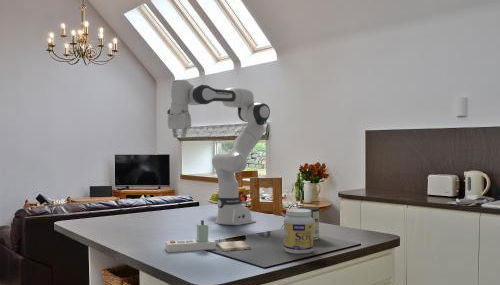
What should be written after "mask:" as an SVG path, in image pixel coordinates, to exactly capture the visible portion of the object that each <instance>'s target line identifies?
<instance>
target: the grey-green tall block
mask: <svg viewBox="0 0 500 285" xmlns="http://www.w3.org/2000/svg"><path fill="white" fill-rule="evenodd" d="M196 239H197V242H208V239H209V224H208V223H205V220H203V219H202V220H200V223H196Z"/></svg>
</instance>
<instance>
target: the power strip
mask: <svg viewBox="0 0 500 285" xmlns="http://www.w3.org/2000/svg"><path fill="white" fill-rule="evenodd" d="M216 243H217V241H215V240H214V239H213V238H208V242H197V238H196V239H195V238H194V239H179V240H165V245H164V246H165V247H164V248H165V250H166V252H167V253H176V252H192V251H203V250H204V251H207V250H216V249H217V245H216Z"/></svg>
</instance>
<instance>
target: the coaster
mask: <svg viewBox="0 0 500 285" xmlns="http://www.w3.org/2000/svg"><path fill="white" fill-rule="evenodd" d="M216 247H218V248H219V249H220V250H223V251H222V252H227V251H229V252H230V251H231V250H232V251H243V250H244V249H247V250H251V249H252V247H251V245H249V244H247V243H246V242H245V241H243V240H238V241H237V240H236V241H222V242H221V241H219V242H217V241H216ZM232 251H231V252H232Z"/></svg>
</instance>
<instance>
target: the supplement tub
mask: <svg viewBox="0 0 500 285" xmlns="http://www.w3.org/2000/svg"><path fill="white" fill-rule="evenodd" d="M286 209H287V208H286ZM286 209H285V215H286V214H287V216H286V217H285V218H284V220H283V225H284V226H283V249H284V251H285V252H286V253H289V254H295V255H305V254H310V253H312V252H313V250H314V240H313V222H314V221H313V218H312V217H311V215H312V214H311V210H308V209H297V208H288V209H287V210H286Z"/></svg>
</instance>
